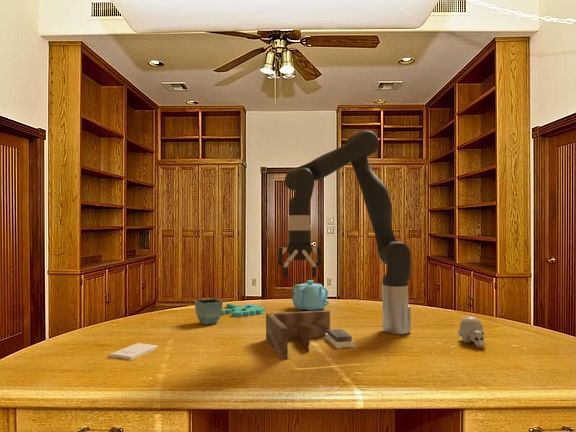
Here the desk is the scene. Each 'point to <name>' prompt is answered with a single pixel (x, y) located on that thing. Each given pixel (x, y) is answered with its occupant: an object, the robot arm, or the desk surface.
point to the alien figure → (243, 310)
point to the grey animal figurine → (472, 331)
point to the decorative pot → (310, 296)
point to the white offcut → (339, 344)
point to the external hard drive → (133, 351)
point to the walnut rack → (294, 328)
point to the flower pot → (208, 310)
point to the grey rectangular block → (339, 335)
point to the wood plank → (304, 339)
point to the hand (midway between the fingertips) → (299, 278)
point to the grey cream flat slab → (340, 347)
